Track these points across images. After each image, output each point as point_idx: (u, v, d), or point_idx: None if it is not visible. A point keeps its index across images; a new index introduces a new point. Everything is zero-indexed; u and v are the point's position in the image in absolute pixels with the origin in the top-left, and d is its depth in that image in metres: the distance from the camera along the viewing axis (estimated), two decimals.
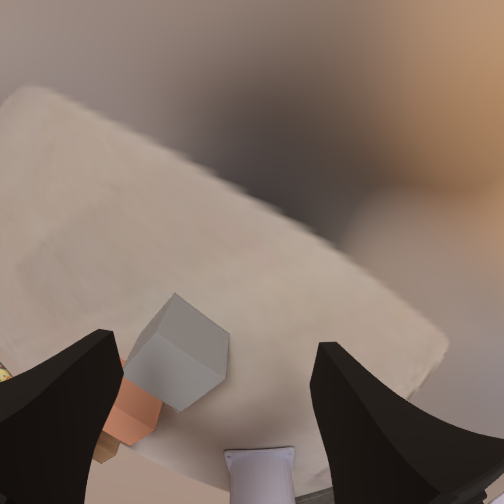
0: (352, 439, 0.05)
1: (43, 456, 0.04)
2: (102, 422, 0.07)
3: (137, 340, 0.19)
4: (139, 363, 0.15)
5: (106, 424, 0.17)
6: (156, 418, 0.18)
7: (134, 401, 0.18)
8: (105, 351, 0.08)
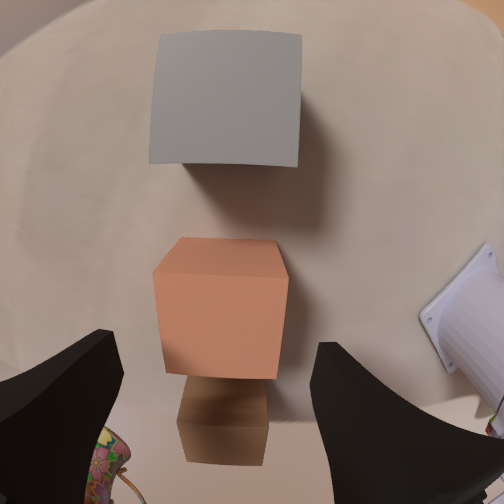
0: (352, 439, 0.05)
1: (43, 456, 0.04)
2: (102, 422, 0.07)
3: None
4: (165, 105, 0.08)
5: (206, 352, 0.11)
6: (281, 266, 0.11)
7: (225, 261, 0.11)
8: (105, 351, 0.08)
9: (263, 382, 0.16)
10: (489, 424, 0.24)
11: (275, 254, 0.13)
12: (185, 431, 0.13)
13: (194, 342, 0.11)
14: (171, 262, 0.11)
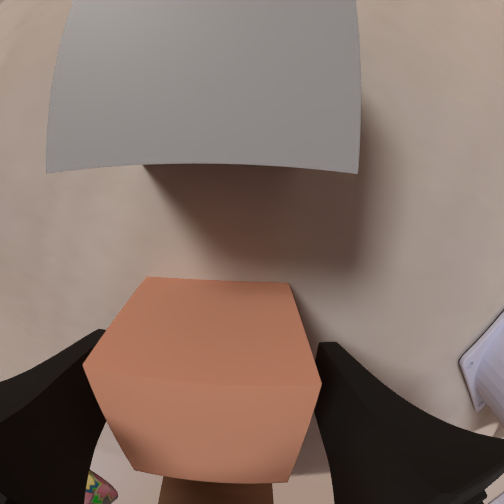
0: (352, 439, 0.05)
1: (43, 456, 0.04)
2: (102, 422, 0.07)
3: None
4: (77, 55, 0.03)
5: (186, 461, 0.06)
6: (304, 349, 0.06)
7: (208, 338, 0.06)
8: None
9: None
10: None
11: (291, 316, 0.07)
12: None
13: (166, 451, 0.06)
14: (117, 339, 0.06)
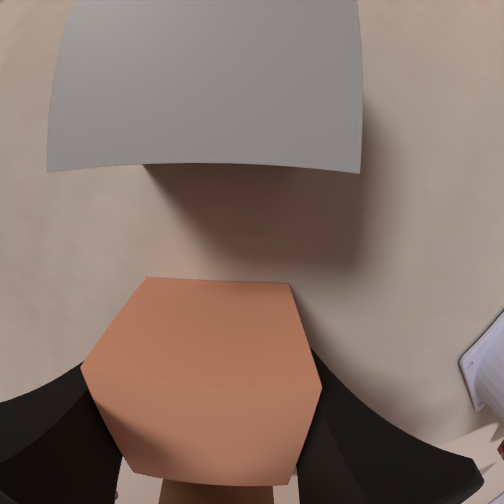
0: (312, 444, 0.05)
1: (76, 471, 0.04)
2: None
3: None
4: (79, 54, 0.03)
5: (185, 464, 0.06)
6: (304, 351, 0.06)
7: (207, 341, 0.06)
8: None
9: None
10: (502, 444, 0.19)
11: (291, 318, 0.07)
12: None
13: (165, 454, 0.06)
14: (115, 342, 0.06)
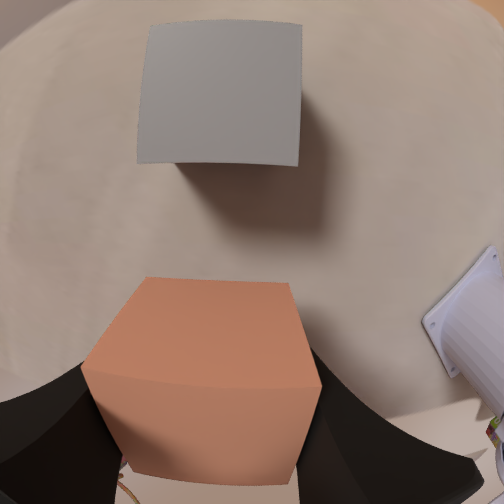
0: (312, 444, 0.05)
1: (76, 471, 0.04)
2: None
3: None
4: (154, 100, 0.07)
5: (185, 463, 0.06)
6: (304, 350, 0.06)
7: (207, 340, 0.06)
8: None
9: None
10: (490, 426, 0.23)
11: (291, 318, 0.07)
12: None
13: (165, 454, 0.06)
14: (115, 341, 0.06)
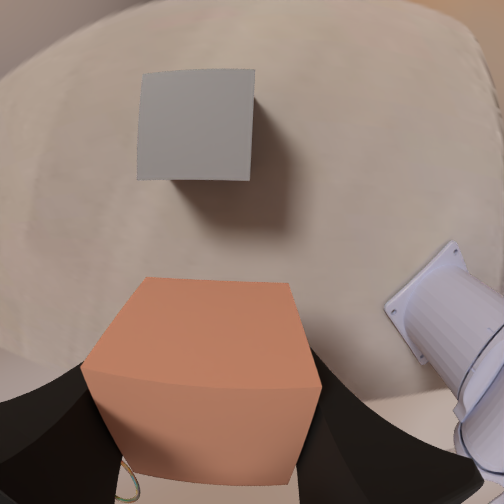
0: (312, 444, 0.05)
1: (76, 471, 0.04)
2: None
3: None
4: (148, 134, 0.11)
5: (185, 464, 0.06)
6: (304, 351, 0.06)
7: (206, 340, 0.06)
8: None
9: None
10: None
11: (291, 318, 0.07)
12: None
13: (164, 454, 0.06)
14: (115, 342, 0.06)
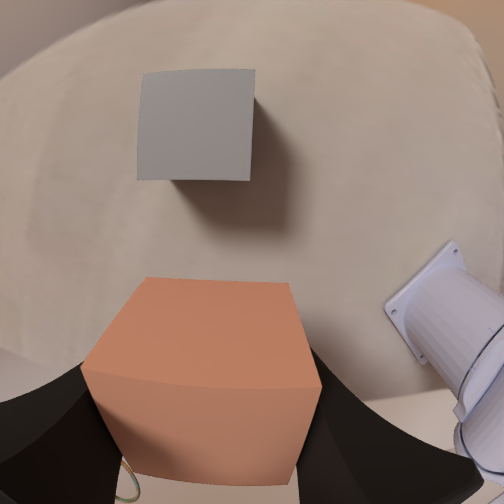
0: (312, 444, 0.05)
1: (76, 471, 0.04)
2: None
3: None
4: (148, 134, 0.11)
5: (185, 464, 0.06)
6: (304, 351, 0.06)
7: (206, 340, 0.06)
8: None
9: None
10: None
11: (291, 318, 0.07)
12: None
13: (164, 454, 0.06)
14: (115, 342, 0.06)
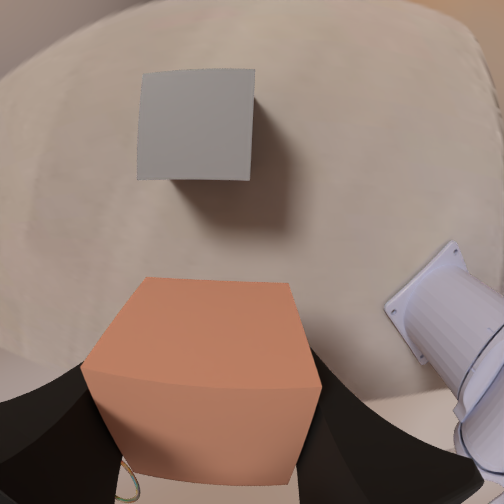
0: (312, 444, 0.05)
1: (76, 471, 0.04)
2: None
3: None
4: (148, 134, 0.11)
5: (185, 464, 0.06)
6: (304, 351, 0.06)
7: (206, 340, 0.06)
8: None
9: None
10: None
11: (291, 318, 0.07)
12: None
13: (164, 454, 0.06)
14: (115, 342, 0.06)
